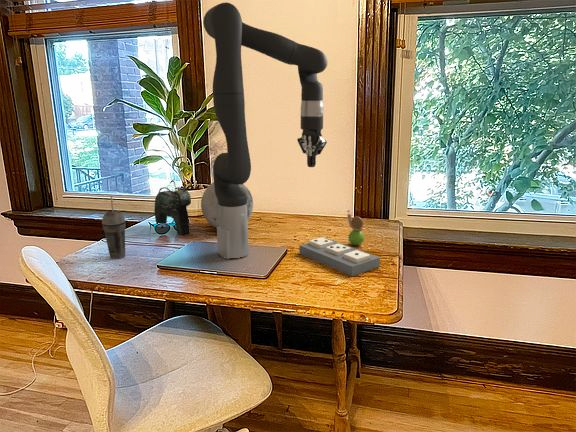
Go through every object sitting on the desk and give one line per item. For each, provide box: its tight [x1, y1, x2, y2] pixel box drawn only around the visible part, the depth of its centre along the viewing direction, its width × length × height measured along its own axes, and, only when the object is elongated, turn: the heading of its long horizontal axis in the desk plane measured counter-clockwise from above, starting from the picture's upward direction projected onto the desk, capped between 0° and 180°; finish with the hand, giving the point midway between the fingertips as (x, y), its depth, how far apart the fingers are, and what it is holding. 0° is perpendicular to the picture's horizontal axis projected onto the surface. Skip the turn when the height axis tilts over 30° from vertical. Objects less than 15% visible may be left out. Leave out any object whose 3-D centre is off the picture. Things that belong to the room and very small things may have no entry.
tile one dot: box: [344, 249, 370, 264], centre depth 133 cm, size 6×6×3 cm
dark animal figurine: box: [153, 180, 192, 236], centre depth 169 cm, size 20×6×20 cm, turn 48°
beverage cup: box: [101, 195, 127, 260], centre depth 141 cm, size 7×7×20 cm
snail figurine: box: [347, 209, 365, 246], centre depth 153 cm, size 5×6×12 cm
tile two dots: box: [308, 237, 334, 249], centre depth 145 cm, size 6×6×3 cm
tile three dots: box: [326, 243, 351, 256], centre depth 139 cm, size 6×6×3 cm
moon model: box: [200, 181, 254, 229], centre depth 170 cm, size 20×20×20 cm
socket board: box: [298, 237, 381, 277], centre depth 140 cm, size 12×24×3 cm, turn 38°
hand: (311, 166), depth 150 cm, fingers closed
